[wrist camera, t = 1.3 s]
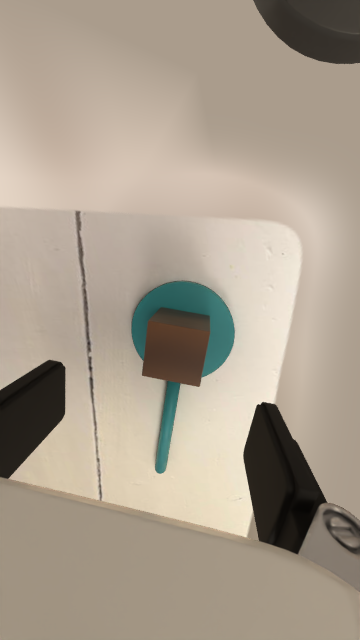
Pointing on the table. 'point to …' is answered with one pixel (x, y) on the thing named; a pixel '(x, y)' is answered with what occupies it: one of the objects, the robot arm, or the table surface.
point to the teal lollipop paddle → (218, 349)
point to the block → (176, 346)
